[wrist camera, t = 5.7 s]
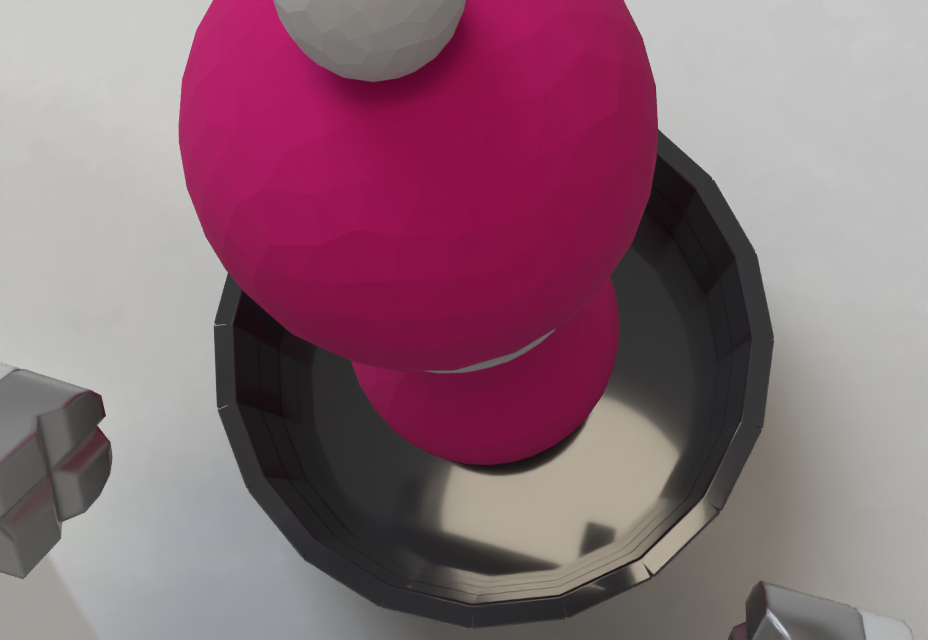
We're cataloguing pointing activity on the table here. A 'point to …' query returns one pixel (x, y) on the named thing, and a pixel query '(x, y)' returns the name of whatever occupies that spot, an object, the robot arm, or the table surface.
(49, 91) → the table surface
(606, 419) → the pan
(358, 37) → the pepper mill
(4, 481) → the robot arm
